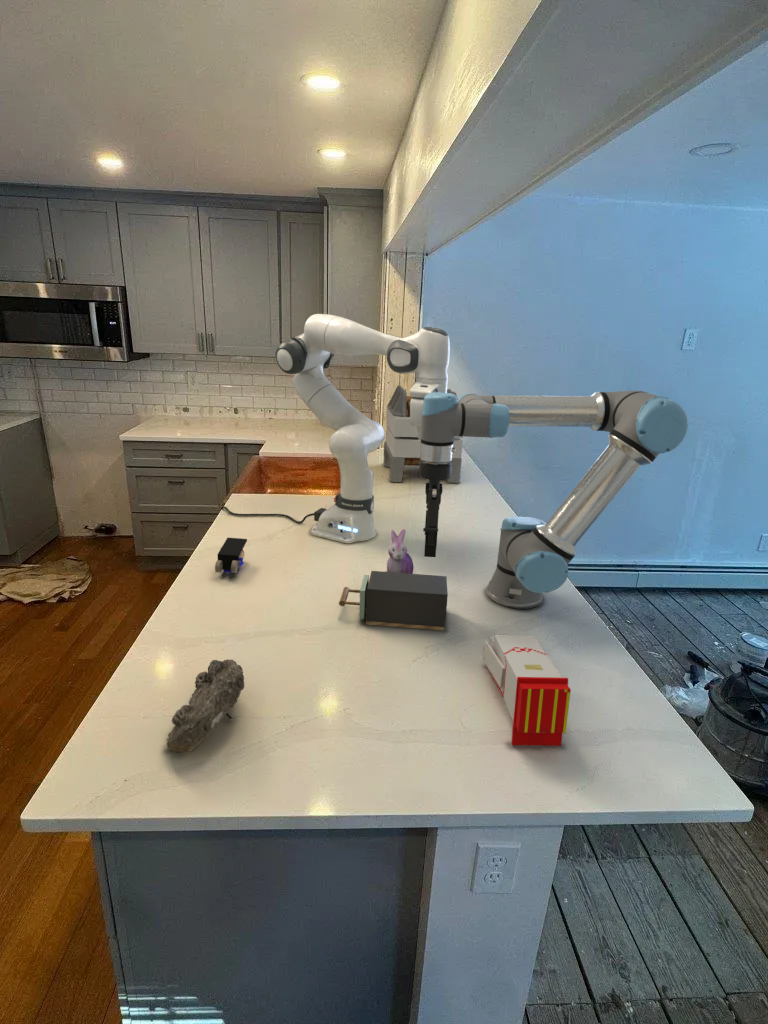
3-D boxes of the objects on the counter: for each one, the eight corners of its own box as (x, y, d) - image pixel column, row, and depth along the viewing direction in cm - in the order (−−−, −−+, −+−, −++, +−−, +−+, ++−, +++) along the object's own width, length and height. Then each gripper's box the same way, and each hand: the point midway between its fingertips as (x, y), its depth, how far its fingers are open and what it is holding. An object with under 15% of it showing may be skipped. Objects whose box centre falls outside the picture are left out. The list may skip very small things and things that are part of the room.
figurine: (393, 588, 161) (395, 539, 156) (376, 573, 169) (378, 526, 164) (421, 582, 165) (425, 534, 160) (404, 568, 173) (407, 522, 168)
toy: (531, 618, 129) (580, 685, 100) (526, 672, 132) (572, 753, 102) (478, 617, 129) (511, 684, 99) (475, 671, 131) (505, 752, 102)
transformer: (382, 463, 289) (386, 382, 275) (445, 464, 293) (451, 384, 279) (390, 482, 257) (394, 392, 243) (460, 483, 261) (468, 394, 247)
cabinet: (365, 624, 142) (367, 588, 139) (370, 604, 152) (371, 570, 148) (444, 630, 141) (447, 594, 138) (443, 609, 151) (446, 576, 147)
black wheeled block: (238, 584, 162) (249, 557, 175) (236, 562, 158) (247, 536, 172) (215, 584, 161) (227, 556, 175) (212, 561, 158) (225, 535, 171)
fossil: (192, 660, 117) (244, 628, 112) (224, 691, 120) (276, 661, 115) (142, 746, 98) (202, 712, 93) (182, 779, 101) (242, 748, 96)
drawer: (338, 617, 143) (338, 589, 140) (343, 600, 151) (344, 573, 149) (432, 624, 141) (434, 596, 139) (432, 606, 150) (434, 579, 147)
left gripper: (433, 383, 169) (430, 429, 174) (407, 391, 151) (404, 442, 156) (453, 385, 167) (449, 432, 171) (429, 393, 149) (425, 445, 154)
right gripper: (454, 476, 120) (446, 567, 127) (450, 449, 143) (444, 527, 150) (418, 474, 120) (413, 565, 127) (420, 447, 143) (415, 525, 151)
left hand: (427, 437), depth 164 cm, fingers open, 8 cm apart
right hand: (429, 545), depth 139 cm, fingers open, 13 cm apart
